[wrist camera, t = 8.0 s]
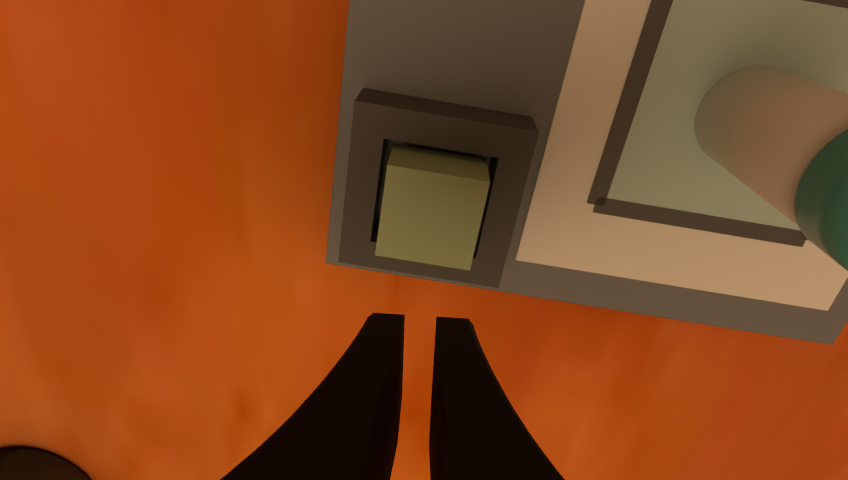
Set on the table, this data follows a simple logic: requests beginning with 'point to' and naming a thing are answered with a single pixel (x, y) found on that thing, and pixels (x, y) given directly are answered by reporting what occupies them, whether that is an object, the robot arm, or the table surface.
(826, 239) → the marker
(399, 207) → the button
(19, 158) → the table surface
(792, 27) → the colouring board
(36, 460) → the brown tall knobbed piece
